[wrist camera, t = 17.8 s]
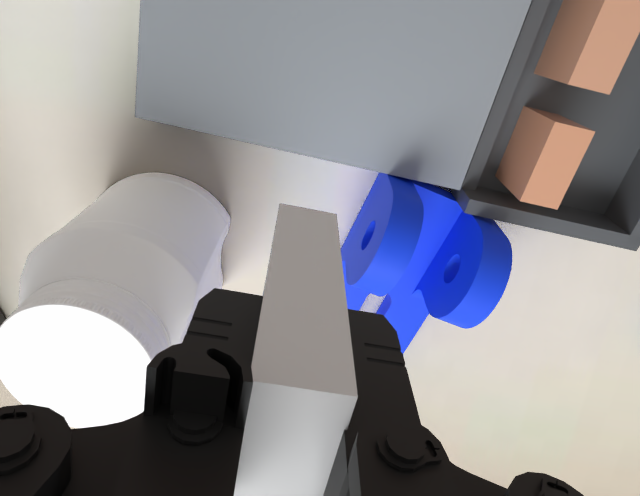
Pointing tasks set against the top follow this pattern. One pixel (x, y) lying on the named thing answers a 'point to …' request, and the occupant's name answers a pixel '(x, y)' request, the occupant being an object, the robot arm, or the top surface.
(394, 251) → the bracket
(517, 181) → the tile
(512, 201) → the box
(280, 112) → the board
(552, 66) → the tile
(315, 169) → the top surface
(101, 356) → the jar
